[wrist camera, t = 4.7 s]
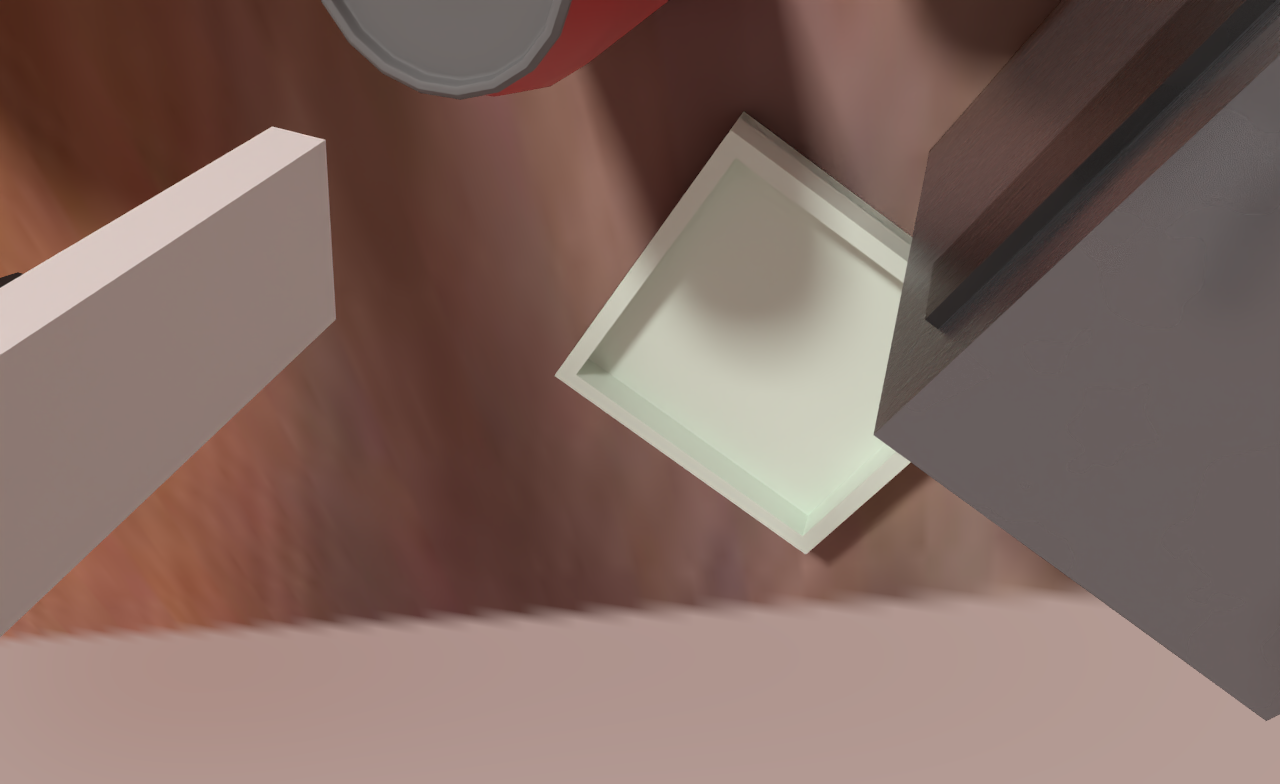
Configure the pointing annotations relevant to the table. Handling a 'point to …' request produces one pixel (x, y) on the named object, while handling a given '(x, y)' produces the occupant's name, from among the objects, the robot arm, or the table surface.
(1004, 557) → the table surface
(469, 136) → the table surface
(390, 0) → the beer can
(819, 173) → the tray
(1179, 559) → the box
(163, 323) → the robot arm
